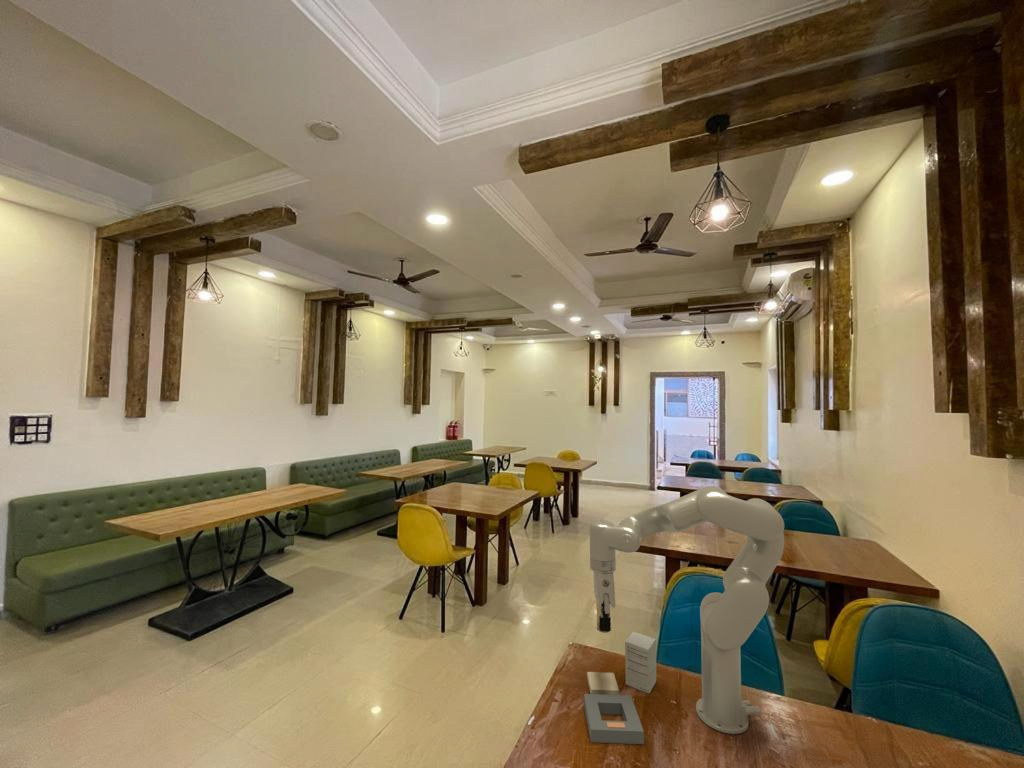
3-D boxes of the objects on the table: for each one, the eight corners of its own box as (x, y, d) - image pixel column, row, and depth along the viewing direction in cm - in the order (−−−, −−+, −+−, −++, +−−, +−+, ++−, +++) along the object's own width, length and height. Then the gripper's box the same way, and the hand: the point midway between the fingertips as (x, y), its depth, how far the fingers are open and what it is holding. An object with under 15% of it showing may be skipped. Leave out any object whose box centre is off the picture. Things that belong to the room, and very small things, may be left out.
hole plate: (631, 706, 116) (631, 694, 117) (643, 744, 103) (643, 730, 104) (583, 705, 117) (583, 693, 117) (590, 742, 104) (590, 728, 104)
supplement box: (633, 672, 132) (633, 630, 132) (657, 681, 127) (656, 638, 128) (624, 684, 126) (624, 641, 126) (649, 694, 121) (649, 649, 122)
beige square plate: (613, 679, 128) (613, 672, 128) (619, 697, 120) (619, 690, 120) (587, 678, 128) (587, 672, 128) (591, 696, 120) (591, 689, 120)
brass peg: (609, 625, 127) (608, 598, 127) (611, 632, 123) (611, 604, 123) (595, 625, 127) (595, 598, 128) (597, 632, 123) (597, 604, 124)
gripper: (621, 574, 118) (622, 642, 116) (609, 554, 134) (610, 613, 133) (594, 574, 118) (595, 641, 117) (586, 553, 135) (587, 612, 133)
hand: (603, 625), depth 125 cm, fingers closed on brass peg, 4 cm apart
